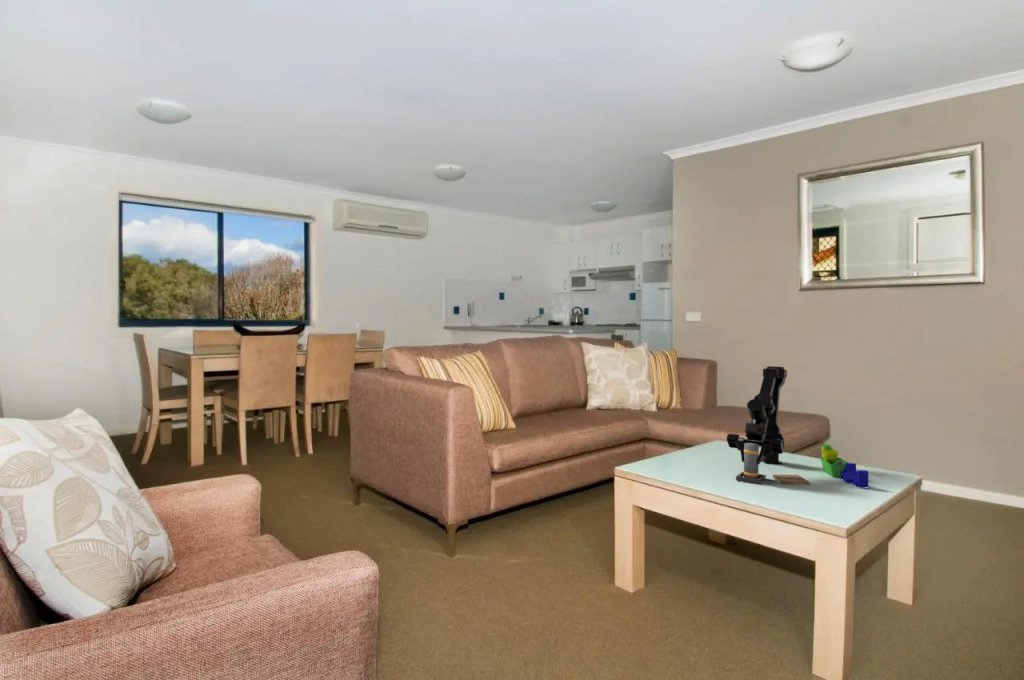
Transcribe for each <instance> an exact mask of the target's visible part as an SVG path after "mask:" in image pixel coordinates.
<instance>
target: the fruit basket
mask: <svg viewBox="0 0 1024 680" xmlns="http://www.w3.org/2000/svg"><path fill="white" fill-rule="evenodd" d="M820 449H821V450H820V451H821V456H820V457H819V458H820V462H821V464H822V465H821V466H822V469H823V472H825V473H826V474H828V475H829V476H830V475H831V477H832V478H840V477H841V471H845V463H849V462H848V461H847V460H844V459H843V458H840V457H838V456H839V451H837V450H836V449H834V448H833V447H832V446H831V445H830V444H822V446H821V448H820Z"/></svg>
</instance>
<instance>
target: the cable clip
mask: <svg viewBox="0 0 1024 680" xmlns="http://www.w3.org/2000/svg"><path fill="white" fill-rule="evenodd" d="M842 479H843V480H842ZM840 480H842V481H844V482H845V483H846V482H847V483H846V484H852V483H853V484H852V485H854V486H855V485H856V486H858V487H868V488H869V470H866V469H864V470H863V469H857V463H855V462H848V463H845V471H841V478H840ZM856 486H855V487H856ZM858 487H857V488H858Z"/></svg>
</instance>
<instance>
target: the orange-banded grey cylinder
mask: <svg viewBox="0 0 1024 680" xmlns="http://www.w3.org/2000/svg"><path fill="white" fill-rule="evenodd" d="M759 448H760V447H759V445H758V444H755V443H745V444H744V462H743V472H744V477H747V478H754V479H758V474H759V465H758V464H757V460H758V457H759V454H760V449H759Z"/></svg>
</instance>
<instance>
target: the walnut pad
mask: <svg viewBox="0 0 1024 680" xmlns="http://www.w3.org/2000/svg"><path fill="white" fill-rule="evenodd" d="M773 477H774V478H773ZM772 478H773V479H774V480H777V482H779V481H780V483H781V484H783V485H810V481H809V480H807V479H805V478H804V477H802V476H801V475H798V474H772Z"/></svg>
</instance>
